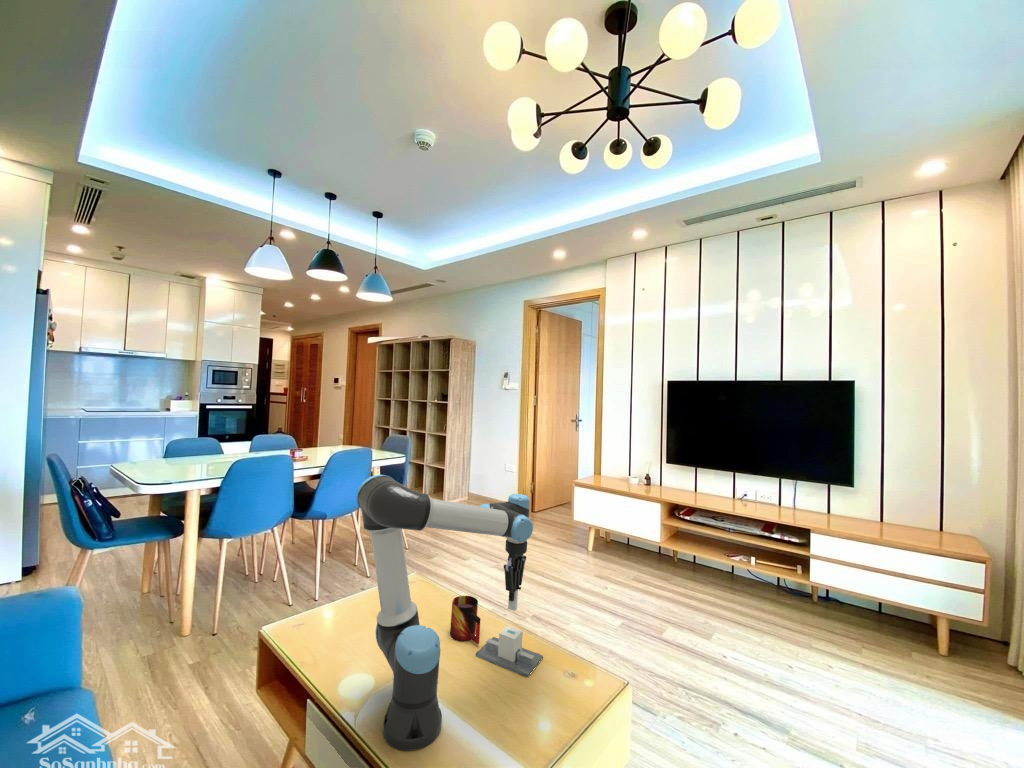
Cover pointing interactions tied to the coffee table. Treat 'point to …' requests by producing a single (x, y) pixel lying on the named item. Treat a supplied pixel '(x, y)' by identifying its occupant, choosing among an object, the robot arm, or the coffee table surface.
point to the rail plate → (521, 665)
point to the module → (510, 643)
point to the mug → (465, 619)
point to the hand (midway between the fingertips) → (512, 608)
